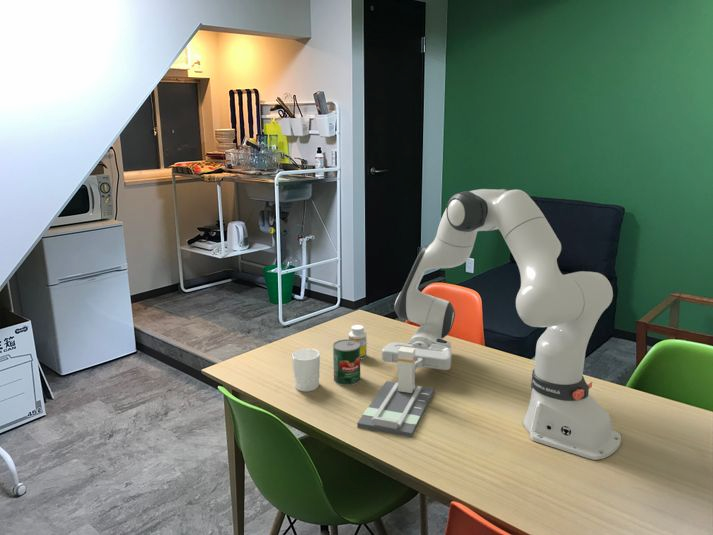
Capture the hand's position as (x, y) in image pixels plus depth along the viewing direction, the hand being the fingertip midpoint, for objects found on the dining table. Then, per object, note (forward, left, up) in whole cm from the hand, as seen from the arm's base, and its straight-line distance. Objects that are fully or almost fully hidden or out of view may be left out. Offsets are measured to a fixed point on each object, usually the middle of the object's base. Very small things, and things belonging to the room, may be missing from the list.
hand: (409, 367), depth 161 cm
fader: (-1, +3, -5) cm, 6 cm away
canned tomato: (+17, +8, -7) cm, 20 cm away
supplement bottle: (+26, -5, -7) cm, 28 cm away
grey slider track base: (-5, +10, -7) cm, 13 cm away
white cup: (+22, +19, -7) cm, 30 cm away
